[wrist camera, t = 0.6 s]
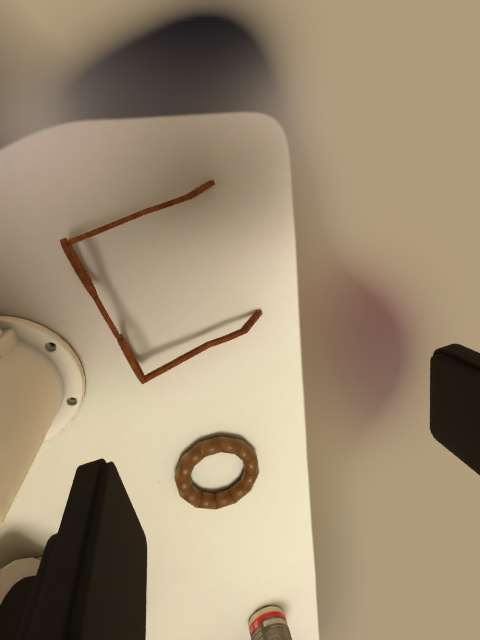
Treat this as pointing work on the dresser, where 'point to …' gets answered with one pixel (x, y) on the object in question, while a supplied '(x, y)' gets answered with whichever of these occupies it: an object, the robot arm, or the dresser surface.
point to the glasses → (92, 291)
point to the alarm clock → (15, 594)
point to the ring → (210, 448)
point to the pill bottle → (269, 625)
